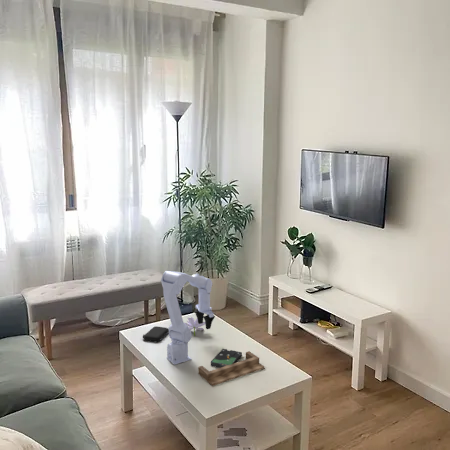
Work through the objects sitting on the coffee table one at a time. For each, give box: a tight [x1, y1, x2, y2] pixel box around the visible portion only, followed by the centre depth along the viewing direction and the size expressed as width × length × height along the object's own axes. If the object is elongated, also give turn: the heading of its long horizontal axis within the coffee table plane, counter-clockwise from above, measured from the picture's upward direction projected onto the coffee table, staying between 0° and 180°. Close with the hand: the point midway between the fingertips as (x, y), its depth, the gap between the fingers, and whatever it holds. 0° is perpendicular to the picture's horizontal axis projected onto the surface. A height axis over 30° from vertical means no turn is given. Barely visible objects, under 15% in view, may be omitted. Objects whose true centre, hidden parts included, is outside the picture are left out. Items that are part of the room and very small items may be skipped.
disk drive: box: [210, 348, 243, 369], centre depth 221 cm, size 10×3×15 cm
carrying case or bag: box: [142, 325, 169, 343], centre depth 247 cm, size 11×3×15 cm
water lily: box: [184, 316, 206, 337], centre depth 249 cm, size 15×15×9 cm
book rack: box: [197, 350, 265, 387], centre depth 211 cm, size 28×12×4 cm, turn 123°
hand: (204, 326), depth 237 cm, fingers open, 7 cm apart
